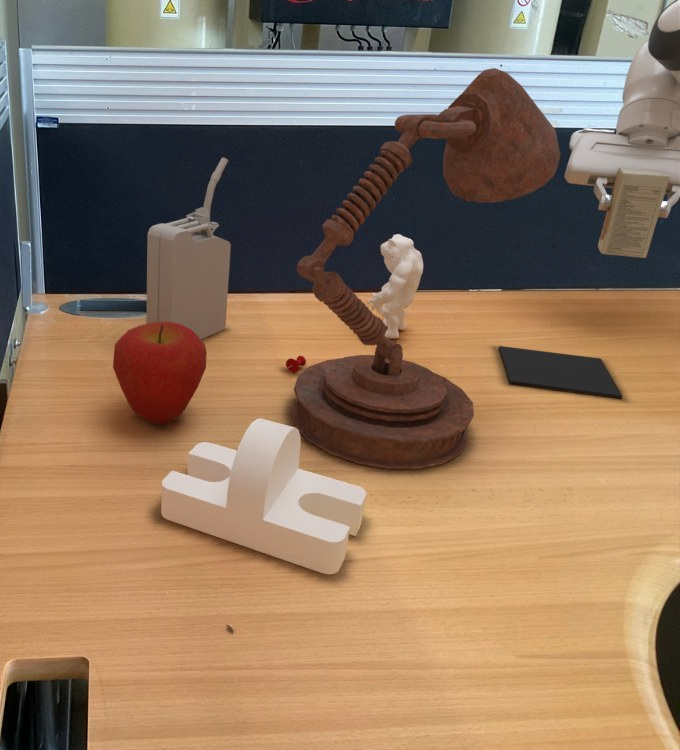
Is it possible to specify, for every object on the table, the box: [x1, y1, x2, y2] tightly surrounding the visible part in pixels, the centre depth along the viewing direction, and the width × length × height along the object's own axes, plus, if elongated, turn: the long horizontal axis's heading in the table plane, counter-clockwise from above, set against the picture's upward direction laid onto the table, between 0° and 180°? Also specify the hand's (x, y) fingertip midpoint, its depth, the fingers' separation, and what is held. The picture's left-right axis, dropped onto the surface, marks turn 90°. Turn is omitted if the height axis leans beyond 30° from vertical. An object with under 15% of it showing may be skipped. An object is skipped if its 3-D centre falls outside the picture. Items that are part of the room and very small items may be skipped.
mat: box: [498, 345, 623, 400], centre depth 106 cm, size 14×12×1 cm
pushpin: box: [285, 355, 307, 374], centre depth 104 cm, size 4×2×2 cm, turn 138°
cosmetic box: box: [597, 168, 670, 259], centre depth 112 cm, size 6×4×12 cm
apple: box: [112, 322, 208, 425], centre depth 89 cm, size 11×11×12 cm
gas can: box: [145, 157, 232, 340], centre depth 109 cm, size 15×5×25 cm, turn 138°
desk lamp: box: [290, 67, 561, 470], centre depth 84 cm, size 21×32×40 cm, turn 119°
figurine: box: [366, 233, 424, 339], centre depth 114 cm, size 11×7×15 cm, turn 150°
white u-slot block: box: [160, 417, 367, 575], centre depth 72 cm, size 10×18×10 cm, turn 63°
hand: (633, 211), depth 111 cm, fingers closed on cosmetic box, 6 cm apart
